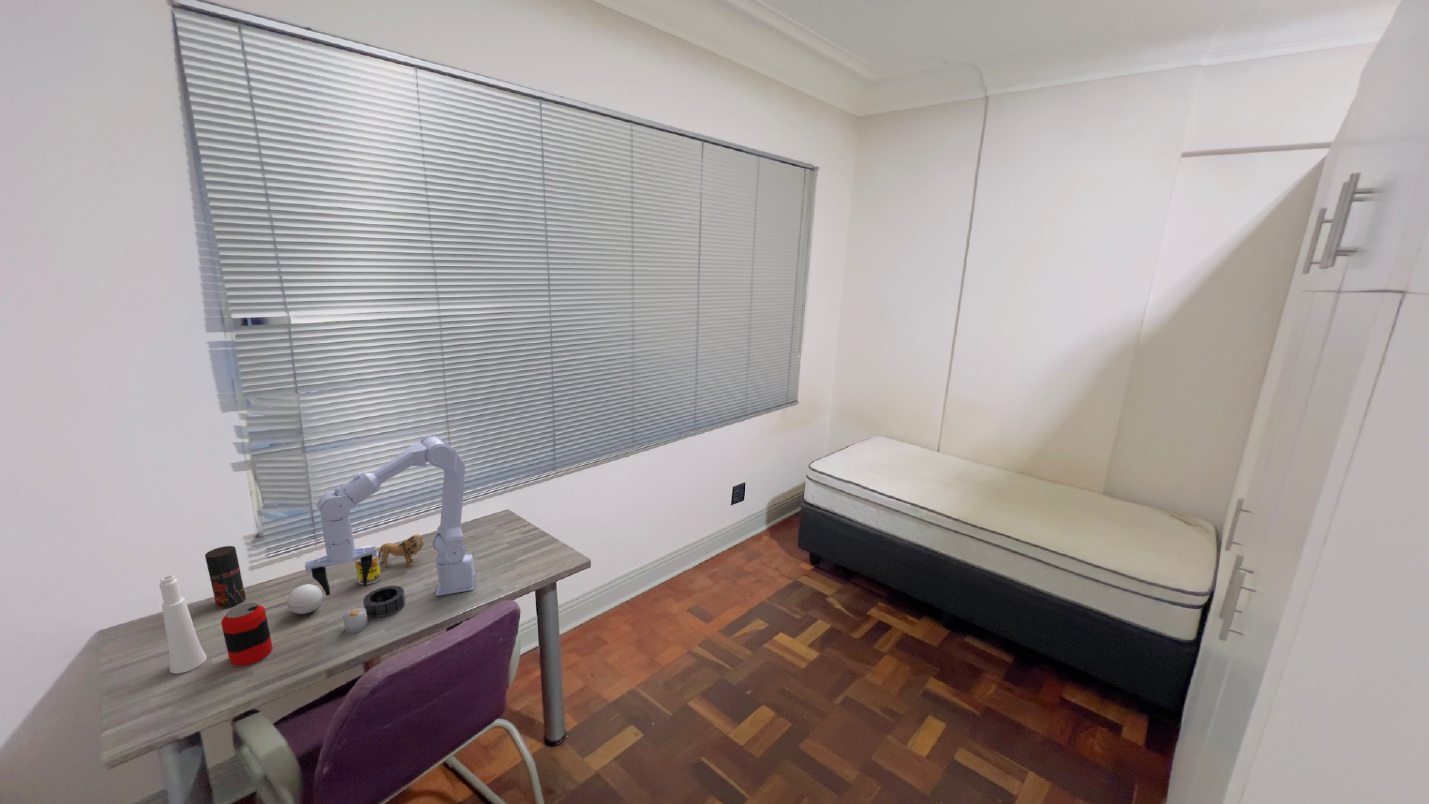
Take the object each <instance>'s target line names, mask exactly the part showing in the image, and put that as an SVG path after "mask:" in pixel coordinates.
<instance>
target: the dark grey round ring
mask: <svg viewBox="0 0 1429 804" xmlns="http://www.w3.org/2000/svg"><path fill="white" fill-rule="evenodd" d="M362 603H363V608H364V609H366V614H367V618H368V617H369V618H372V619H378V618H379V619H380V618H385V617H388V616H391V615H394V614H395V613H397V612H398V611H400V610H402V609H403V608H404V606H405V605H406V604H405V603H406V597H405V590H404V588H402V586H399V585H387V586H382V587H378V588H376V589H374V590H372V591H370V592H369V593H367V594H366V595H365V596H364V598H363V601H362Z"/></svg>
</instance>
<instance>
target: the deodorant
mask: <svg viewBox="0 0 1429 804" xmlns="http://www.w3.org/2000/svg"><path fill="white" fill-rule="evenodd" d="M236 549H237V548H236V547H235V546H233V545H226V546H221V547H215V548H213V549H211V550H209V551H207V552H206V553H205V555H204V557H205V561H206V567H207V570H208V575H209V580H210V585H211V588H212V592H213V597H214V601H215V606H216V608H217V609H219V610H223V609H231V608H234V607H236V606H239V605H241V604H242V603H243V602H244V601H245V600H246V599H247V596H246V592H245V588H244V582H243V578H242V574H241V573H242V572H241V568H240V564H239V559H238V554H237V550H236Z"/></svg>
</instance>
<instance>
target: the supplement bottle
mask: <svg viewBox="0 0 1429 804" xmlns="http://www.w3.org/2000/svg"><path fill="white" fill-rule="evenodd" d="M369 547H374V545H372V544H371V545H370V544H367V545H363V546H361V547H358V548H357V549H359V548H369ZM378 556H379V552H377V556H376V557H372V560H373V561H372V565H371V567H370V569H369V572H368V576H367V585H371V584H374V583H376V582H377V581H379V580H380V578H381V577H382V575H381V569H380V568H381V566H380V559H379V558H378ZM354 562H355V568H356V574H357V575H356V577H357V582H358V583H359V584H360V585H363V573H362V567H361V559H358V560H354Z"/></svg>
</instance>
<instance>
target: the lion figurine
mask: <svg viewBox="0 0 1429 804" xmlns="http://www.w3.org/2000/svg"><path fill="white" fill-rule="evenodd" d="M424 544H425V543H424V538H423V536H422V535H420V534H413V535H412V536H410V537H409V538H408V539H406V540H404V541H402V542H401V543H400V544H396V543H395V544H394V543H392V542H387V543H384V544H381V547H380V548H379V552H378V558H379V560H381V562H383V563H384V564H385V567H387V568H389V567H391V566H392V565H391V563H389V562H388V558H389V555H390V554H391V555H393V556H395V557H403V558H404V559H405V564H406V566H407V567H411V566H412V565H413V564H412V562H414V560H415V559H413V558H412V556H416V555H417V554H418V552H419V551H420V550H422V549H423V547H424ZM380 558H381V559H380Z"/></svg>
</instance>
